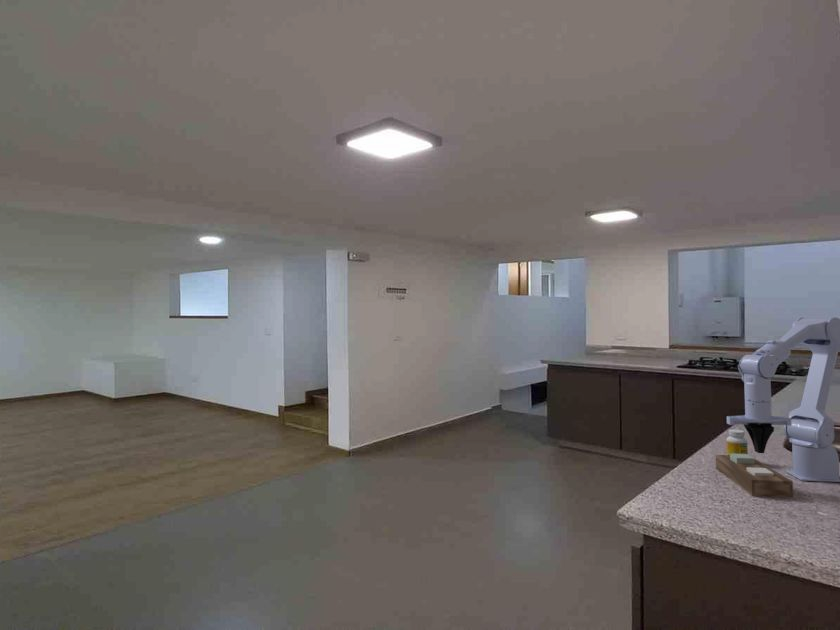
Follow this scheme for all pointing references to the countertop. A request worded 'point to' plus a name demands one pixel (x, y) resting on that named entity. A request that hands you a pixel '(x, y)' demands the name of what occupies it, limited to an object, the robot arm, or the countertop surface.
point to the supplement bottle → (736, 442)
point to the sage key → (742, 459)
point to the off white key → (759, 471)
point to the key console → (755, 478)
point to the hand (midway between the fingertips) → (759, 452)
